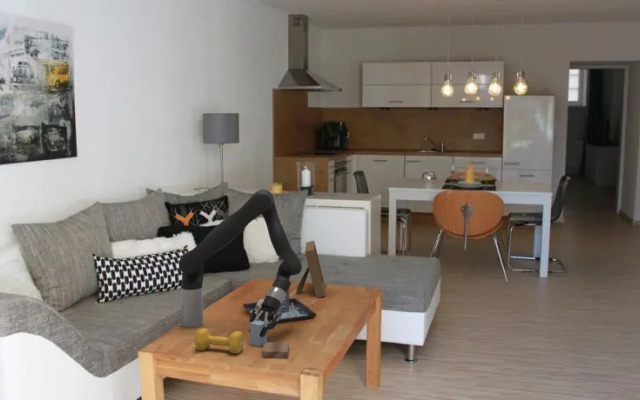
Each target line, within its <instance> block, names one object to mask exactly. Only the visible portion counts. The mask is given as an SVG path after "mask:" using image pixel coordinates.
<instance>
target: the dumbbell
mask: <svg viewBox="0 0 640 400" xmlns="http://www.w3.org/2000/svg"><path fill="white" fill-rule="evenodd" d="M194 336H195V337H194V346H195V349H196V350H197V351H205V350H207V349H208V347H209V346H210V345H211V346H212V345H213V346H220V347H221V346H222V347H228V349H229V352H230V353H232V354H237V355H238V354H240V353H241V351H242V350H243V349H244V343H245V341H244V335H243V332H242V331H240V330H239V331H238V330H235V331H233V332H232V333H231V334H230V336H229V337H225V336H219V335H217V336H216V335H211V333H210V331H209V329H208V328H204V327H202V328H201V327H200V328H199V329H198V330H197V331H196V333H195V335H194Z"/></svg>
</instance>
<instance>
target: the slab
mask: <svg viewBox="0 0 640 400" xmlns="http://www.w3.org/2000/svg"><path fill="white" fill-rule="evenodd" d="M289 351H290V342H280V341H279V342H274V341H272V342H270V341H267V342H264V345H262V350H261V358H262V359H288V357H289Z"/></svg>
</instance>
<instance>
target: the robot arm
mask: <svg viewBox="0 0 640 400" xmlns="http://www.w3.org/2000/svg"><path fill="white" fill-rule="evenodd" d="M260 216H262V218H263V220H264V223H265V225H266V228H267V232H268V236H269V239H270V242H271V245H272V247H273V250H274V251H275V254H276V256H277V257H280V258H282V260H283V261H282V262H281V263H280V264H279V266H278V269H277V272H276V276H275V279H274V281H273V283H272V285H271V287H270V288H269V289H268V292H267V293H266V295H265V296H264V298H263V299H264V301H263V303H262V305H261V308H260V309H259V310H257V309H256V308H253V309H252V311H251V313H250V317H249V319H248V321H249V324H250V323H251V322H253V321H257V320H261V321H264V322H265V324H264V327H263V329H262V330H261V332H260V334H259V335H260V337H262V338H263V337H264V336H265V334H266V332H267V333H268V331H269V330H273V329H274V328H275V327H276V326H277V324H278V323H279V322H280V320H281V317H280V316H279V315H278V312H279V310H280V309H281V306H282V305H283V303H284V301H285V298H286V295H287V293H288V291H289V290H290V288H291V280H290V279H291V276H296V275H299V274H300V273H302V269H303V265H302V262H301V261H302V260H301V259H300V258H299V257H298V255H297V253H296V252H295V250H293V248H292V247H291V244H290V243H291V242H289V239H288V237H287V234H286V232H285V230H284V228H283V227H284V226H282V222H281V220H280V217H279V215H278V210H277V207H276V204H275V199H274V196H273V194H272V192H271V191H270V190H268V189H263V188H262V189H259V190H257V191H255V192H254V193H253V194H252V195H251V196H250V197H249V199H248V200H247V201H246V202H245V203H244V204H243V205H242V206H241V207H240V208H239V209H237V210H236V211H235V212H233V213H232V214H230V215H229V216H228V217H226V218H224V219H223V220H222V221H221V222H220V223H219V224H217V225H216V226H215V227H214V228H213V229H212V230H210V232H209V233H208V234H207V235H206V236H205V237H204V239H202V241H201V242H200V243H199V244H198V245H196V246H195V247H193V248H192V249H191V250H188V251H186V252H185V253H184V254H183V255H182V256H181V257H180V259H179V262H178V268H179V271H180V272H181V273H182V278H181V282H180V288H181V289H180V294H181V295H180V296H181V301H180V302H181V304H180V327H184V328H188V329H190V328H191V329H192V328H193V329H194V328H199V327H200V328H201V327H202V326H203V325H204V313H203V312H204V304H203V303H204V301H203V297H204V296H203V295H204V293H203V282H204V278H205V277H204V271H205V269H204V267H205V266H204V264H205V262H207V261H208V260H209V259H210V258H211V257H212V256H214V255H216V254H217V253H218V252H219V251H221V250H223V249H224V248H225V247H227V246H228V245H229V244H230V243H231V242H233V241H234V240H235V239H236V238H237V237H238V236H239V235H240V234H241V233H242V232H243V231H244V230H245V229H246V227H248V225H249V224H250V223H251V222H253V221H254V220H255V219H256V218H258V217H260ZM248 334H250V328H249V329H248Z"/></svg>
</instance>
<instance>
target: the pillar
mask: <svg viewBox="0 0 640 400" xmlns="http://www.w3.org/2000/svg"><path fill="white" fill-rule="evenodd" d="M264 324H265V322H264V321H261V320H260V319H259V320H257V321H253V322H251V323H250V322H249V329H250V333H249V345H252V346H256V347H261V346H262V347H263V345H264V342H268V331H267V332H266V334H265V336H264V337H263V338H262V337H260V335H259V334H260V332H261V330H262V329H263V327H264Z"/></svg>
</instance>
